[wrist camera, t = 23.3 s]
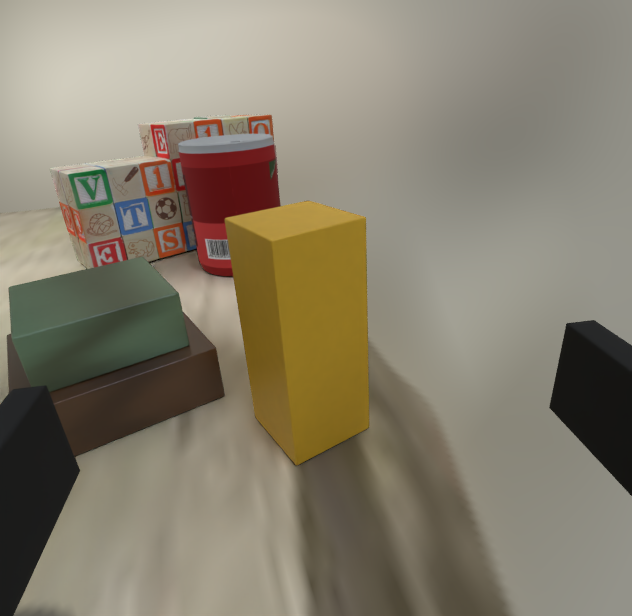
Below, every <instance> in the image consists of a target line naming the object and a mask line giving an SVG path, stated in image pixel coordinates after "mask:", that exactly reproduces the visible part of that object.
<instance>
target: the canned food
mask: <svg viewBox="0 0 632 616" xmlns="http://www.w3.org/2000/svg"><path fill="white" fill-rule="evenodd" d="M178 147H179V156H180V162H181V169H182V174H183V179H184V184H185V190H186V195H187V200H188V205H189V210H190V216H191V221H192V226H193V231H194V237H195V242H196V247H197V252H198V258H199V262H200V263H201V265H202V267H203V269H204V270H205V271H207V272H209V273H211V274H214V275H219V276H233V271H232V264H231V258H230V251H229V245H228V239H227V232H226V226H225V218H228V217H233V216H237V215H242V214H247V213H252V212H256V211H261V210H266V209H271V208H275V207H280V198H279V188H278V176H277V165H276V155H275V147H274V141H273V136H271V135H269V134H236V135H223V136H212V137H204V138H197V139H191V140H186V141H182V142H180V143H179V144H178Z"/></svg>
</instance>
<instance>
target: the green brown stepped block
mask: <svg viewBox="0 0 632 616" xmlns="http://www.w3.org/2000/svg"><path fill="white" fill-rule="evenodd" d="M9 302H10V320H11V334H9V335H7V353H8V380H9V393H10V392H11V391H12V390H13V389H19V388H27V387H36V386H44V385H46V386H47V388H48V391H49V393H50V396H51V398H52V401H53V404H54V406H55V409H56V411H57V414H58V416H59V419H60V421H61V424H62V426H63V429H64V431H65V434H66V436H67V439H68V442H69V444H70V447H71V449H72V452H73V454H74V456H77V455H79V454H82V453H84V452H87V451H89V450H91V449H94V448H96V447H99V446H101V445H104V444H106V443H109V442H111V441H114V440H116V439H119V438H121V437H124V436H126V435H129V434H131V433H134V432H136V431H139V430H141V429H144V428H146V427H149V426H151V425H154V424H156V423H158V422H161V421H163V420H166V419H168V418H171V417H173V416H176V415H178V414H181V413H183V412H186V411H188V410H191V409H193V408H196V407H198V406H201V405H203V404H206V403H208V402H211V401H213V400H216V399H218V398H221V397H223V396H225V394H224V389H223V383H222V378H221V372H220V367H219V362H218V356H217V351H216V347H215V346H214V345H213V344H212V343H211V342H210V341H209V340H208V339H207V338H206V337H205V335H204V334H203V333H202V332H201V331H200V330H199V329H198V328H197V327H196V326H195V324H194V323H193V322H192V321H191V320H190V319H189V318H188V317H187V316H186V315H185V314H184V312H183V311H182V307H181V302H180V297H179V293H178V292H177V291H176V290H175V289H174V288H173V287H172V286H171V285H170V284H169V283H168V282H167V281H166V280H165V279H164V278H163V277H162V276H161V275H160V274H159V273H158V272H157V271H156V270H155V269H154V268H153V267H152V266H151V265H150V263H149V262H148V261H147V260H146V259H145V258H144V257H138V258H134V259H129V260H125V261H121V262H116V263H112V264H107V265H103V266H99V267H94V268H90V269H86V270H81V271H77V272H73V273H68V274H64V275H59V276H55V277H51V278H46V279H42V280H38V281H33V282H29V283H24V284H20V285H16V286H11V287H9Z"/></svg>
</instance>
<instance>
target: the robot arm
mask: <svg viewBox="0 0 632 616" xmlns="http://www.w3.org/2000/svg"><path fill="white" fill-rule="evenodd" d="M550 409H551V410H552V411H553V412H554V413H555V414H556V415H557V416H558V417H559V418H560V420H561V421H562V422H563V423H564V424H565V425H566V426H567V427H568V428H569V429H570V430H571V431H572V432H573V433H574V435H576V437H577V438H578V439H579V440H580V441H581V442H582V443H583V444H584V445H585V446H586V447H587V448H588V449H589V451H590V452H591V453H592V454H593V455H594V456H595V457H596V458H597V459H598V460H599V461H600V462H601V463H602V464H603V466H604V467H605V468H606V469H607V470H608V471H609V472H610V473H611V474H612V475H613V476H614V477H615V479H616V480H617V481H618V482H619V483H620V484H621V485H622V486H623V487H624V488H625V489H626V490H627V491H628V492H629V494H630V495H631V496H632V346H631V345H630V344H628V343H627V342H626V341H624V340H623V339H621V338H619V337H618V336H617V335H615V334H614V333H612V332H611V331H609V330H608V329H606V328H605V327H603V326H602V325H600V324H599V323H597V322H596V321H594V320H592V321H583V322H575V323H567V324H566V329H565V334H564V339H563V344H562V348H561V353H560V358H559V363H558V368H557V373H556V378H555V383H554V388H553V393H552V397H551V403H550ZM79 472H80V469H79V467H78V464H77V462H76V459H75V457H74V454H73V452H72V449H71V447H70V444H69V442H68V439H67V436H66V434H65V431H64V429H63V426H62V424H61V421H60V419H59V416H58V414H57V411H56V409H55V406H54V404H53V401H52V398H51V396H50V393H49V391H48V388H47V386H46V385H44V386H36V387H27V388H19V389H13V390H12V391H11V392H10V393H9V394H8V396H7V397H6V398H5V399H4V401H3V402H2V403H1V404H0V616H13V615H14V613H15V611H16V609H17V606H18V604H19V602H20V600H21V598H22V595H23V593H24V591H25V589H26V587H27V585H28V582H29V580H30V578H31V576H32V574H33V572H34V569H35V567H36V565H37V563H38V561H39V559H40V556H41V554H42V552H43V550H44V548H45V546H46V543H47V541H48V539H49V537H50V535H51V533H52V530H53V528H54V526H55V524H56V522H57V520H58V517H59V515H60V513H61V511H62V509H63V507H64V504H65V502H66V500H67V498H68V496H69V493H70V491H71V489H72V487H73V485H74V483H75V480H76V478H77V476H78V474H79Z"/></svg>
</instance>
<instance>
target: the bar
mask: <svg viewBox="0 0 632 616" xmlns="http://www.w3.org/2000/svg"><path fill="white" fill-rule="evenodd" d="M225 226H226V232H227V239H228V245H229V251H230V258H231V264H232V271H233V277H234V284H235V290H236V296H237V303H238V309H239V316H240V322H241V329H242V335H243V341H244V348H245V354H246V361H247V367H248V374H249V380H250V386H251V393H252V399H253V406H254V412H255V417H256V419H257V420H258V421H259V422H260V423H261V424H262V426H263V427H264V428H265V429H266V430H267V432H268V433H269V434H270V435H271V436H272V438H273V439H274V440H275V441H276V442H277V443H278V445H279V446H280V447H281V448H282V449H283V451H284V452H285V453H286V454H287V455H288V456H289V458H290V459H291V460H292V461H293V462H294V464H295V465H299V464H301V463H303V462H305V461H307V460H308V459H310V458H312V457H314V456H316V455H318V454H320V453H322V452H324V451H326V450H327V449H329V448H331V447H333V446H335V445H337V444H339V443H341V442H343V441H345V440H346V439H348V438H350V437H352V436H354V435H356V434H358V433H360V432H362V431H364V430H365V429H367V428H369V384H368V322H367V264H366V263H367V262H366V261H367V259H366V217H363V216H360V215H356V214H353V213H349V212H346V211H342V210H339V209H335V208H332V207H328V206H326V205H322V204H319V203H315V202H311V201H304V202H299V203H294V204H290V205H285V206H280V207H275V208H271V209H266V210H261V211H256V212H252V213H247V214H242V215H237V216H233V217H228V218H225Z"/></svg>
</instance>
